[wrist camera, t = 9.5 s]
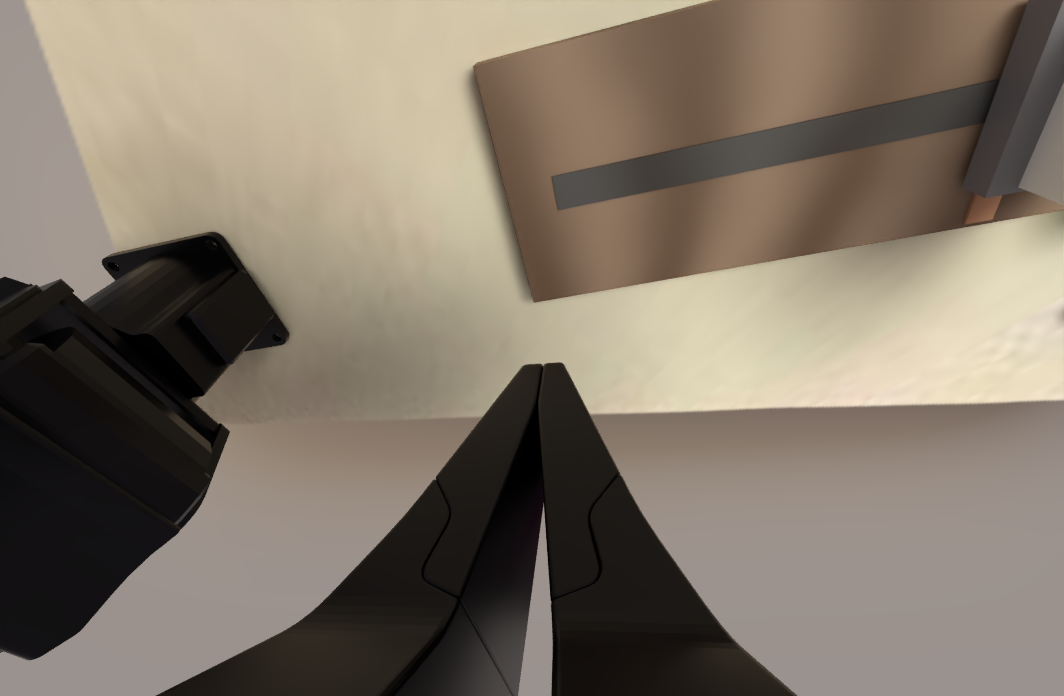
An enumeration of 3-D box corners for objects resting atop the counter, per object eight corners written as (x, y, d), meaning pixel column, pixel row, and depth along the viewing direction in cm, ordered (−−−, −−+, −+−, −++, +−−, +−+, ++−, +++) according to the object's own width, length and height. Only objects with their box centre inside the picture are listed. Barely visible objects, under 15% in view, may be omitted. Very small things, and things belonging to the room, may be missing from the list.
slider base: (534, 289, 23) (532, 339, 19) (477, 62, 17) (460, 78, 13) (1141, 181, 19) (1269, 220, 15) (1349, -168, 13) (1631, -228, 9)
